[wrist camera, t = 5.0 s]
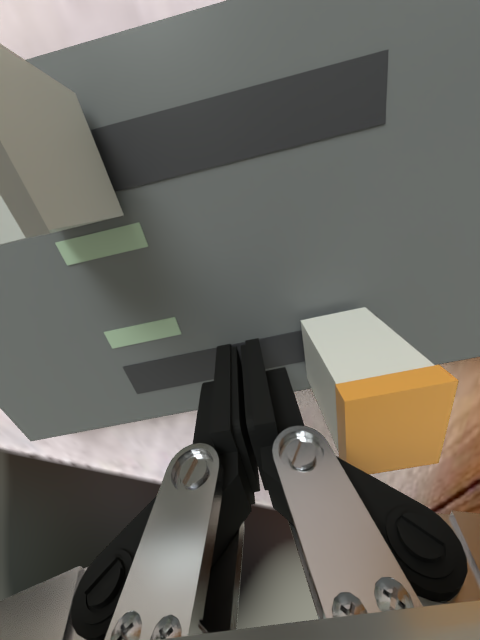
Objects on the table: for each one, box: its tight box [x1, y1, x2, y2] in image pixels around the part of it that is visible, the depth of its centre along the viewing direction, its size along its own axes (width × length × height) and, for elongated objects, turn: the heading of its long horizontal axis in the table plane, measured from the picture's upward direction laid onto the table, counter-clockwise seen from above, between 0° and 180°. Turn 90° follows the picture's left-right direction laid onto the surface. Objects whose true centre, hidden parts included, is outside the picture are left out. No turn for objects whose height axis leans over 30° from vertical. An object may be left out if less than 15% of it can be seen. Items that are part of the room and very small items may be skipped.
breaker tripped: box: [301, 307, 458, 474], centre depth 8 cm, size 3×3×4 cm
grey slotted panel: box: [0, 0, 480, 441], centre depth 10 cm, size 24×13×2 cm, turn 102°
